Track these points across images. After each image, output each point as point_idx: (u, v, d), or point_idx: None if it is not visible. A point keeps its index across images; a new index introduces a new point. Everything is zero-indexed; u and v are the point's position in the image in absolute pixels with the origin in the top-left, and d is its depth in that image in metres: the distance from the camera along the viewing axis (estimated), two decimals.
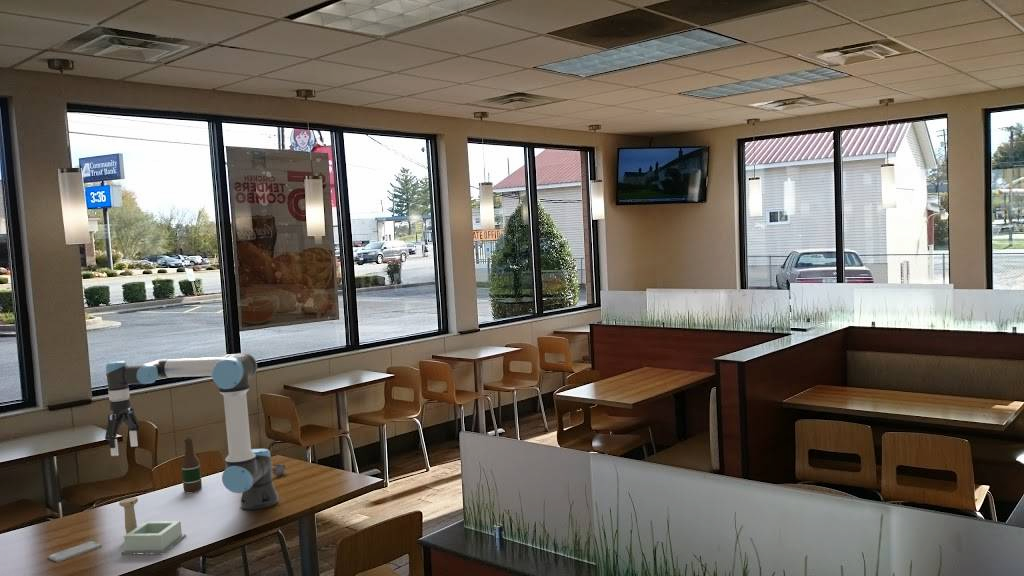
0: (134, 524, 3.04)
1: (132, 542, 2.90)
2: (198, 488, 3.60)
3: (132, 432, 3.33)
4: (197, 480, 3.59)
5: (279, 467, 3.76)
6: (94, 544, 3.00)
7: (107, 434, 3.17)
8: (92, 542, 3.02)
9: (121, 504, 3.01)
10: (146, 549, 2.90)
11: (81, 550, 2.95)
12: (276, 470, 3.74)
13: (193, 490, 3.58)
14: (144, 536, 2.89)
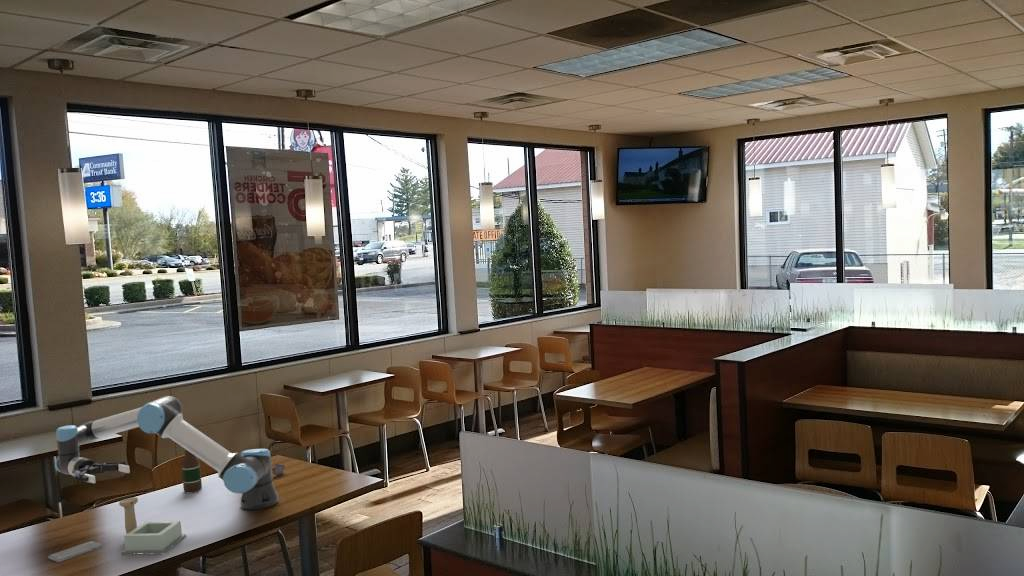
0: (134, 524, 3.04)
1: (132, 542, 2.90)
2: (198, 488, 3.60)
3: (119, 467, 3.17)
4: (197, 480, 3.59)
5: (278, 467, 3.76)
6: (94, 544, 3.00)
7: (74, 479, 3.06)
8: (92, 542, 3.02)
9: (121, 504, 3.01)
10: (146, 549, 2.90)
11: (81, 550, 2.95)
12: (275, 470, 3.75)
13: (193, 490, 3.58)
14: (144, 536, 2.89)
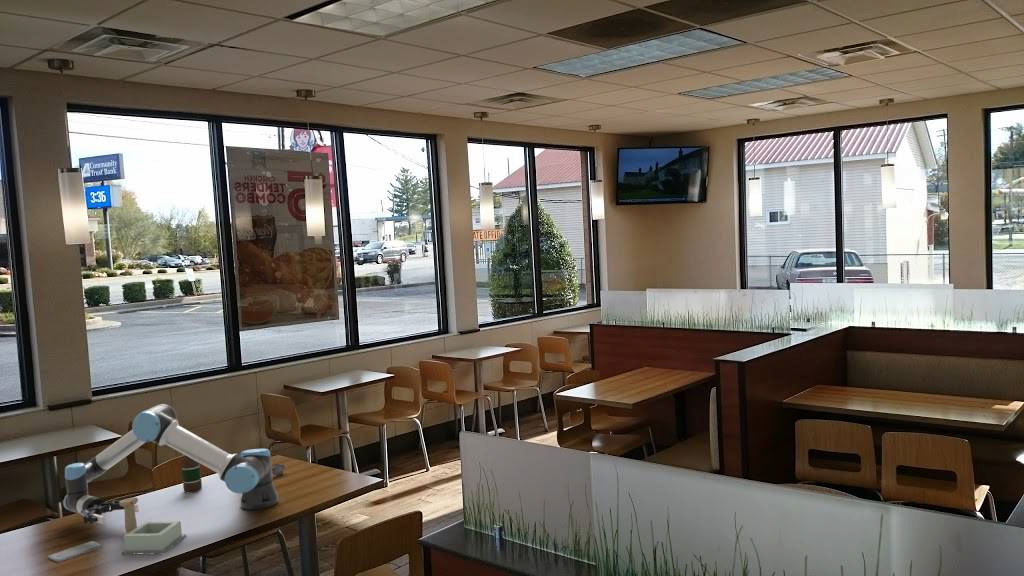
0: (134, 524, 3.04)
1: (132, 542, 2.90)
2: (198, 488, 3.60)
3: None
4: (197, 480, 3.59)
5: (278, 467, 3.76)
6: (95, 544, 3.00)
7: (83, 520, 3.05)
8: (93, 542, 3.02)
9: (121, 504, 3.01)
10: (146, 549, 2.90)
11: (82, 550, 2.95)
12: (275, 470, 3.75)
13: (193, 490, 3.58)
14: (144, 536, 2.89)
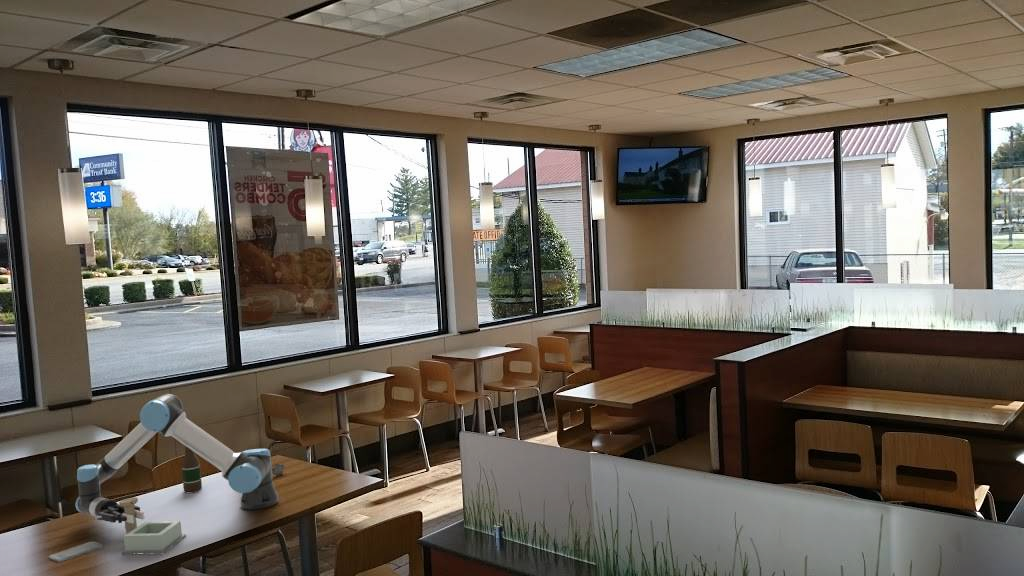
0: (134, 524, 3.04)
1: (132, 542, 2.90)
2: (198, 488, 3.60)
3: None
4: (197, 480, 3.59)
5: (278, 467, 3.76)
6: (95, 544, 3.00)
7: (110, 520, 3.02)
8: (93, 542, 3.02)
9: (121, 504, 3.01)
10: (146, 549, 2.90)
11: (82, 550, 2.95)
12: (275, 470, 3.75)
13: (193, 490, 3.58)
14: (144, 536, 2.89)
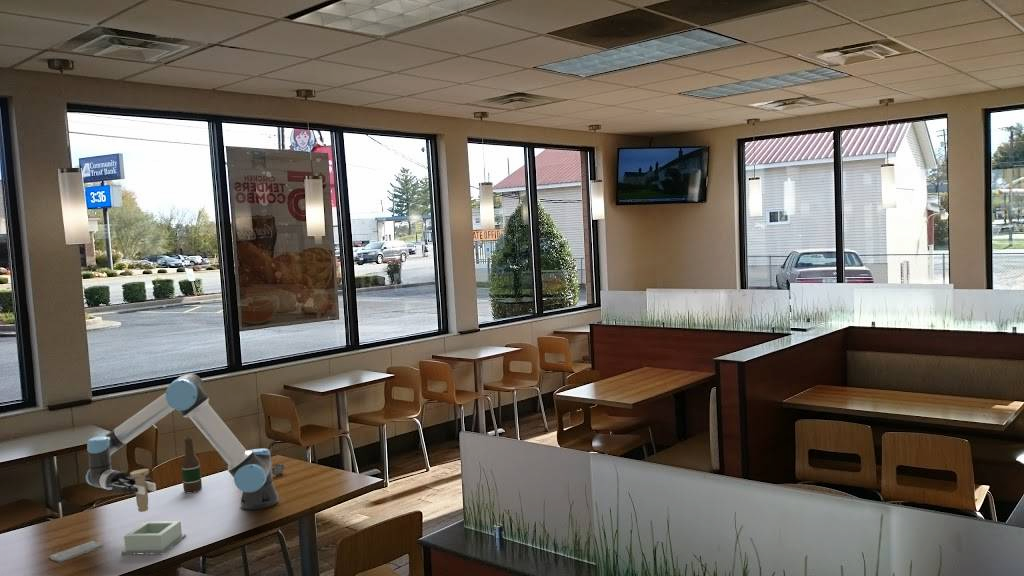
0: (145, 496, 2.97)
1: (132, 542, 2.90)
2: (198, 488, 3.60)
3: None
4: (197, 480, 3.59)
5: (278, 467, 3.76)
6: (95, 544, 2.99)
7: (121, 491, 2.95)
8: (93, 542, 3.02)
9: (132, 475, 2.94)
10: (146, 549, 2.90)
11: (83, 550, 2.95)
12: (275, 470, 3.75)
13: (193, 490, 3.58)
14: (144, 536, 2.89)
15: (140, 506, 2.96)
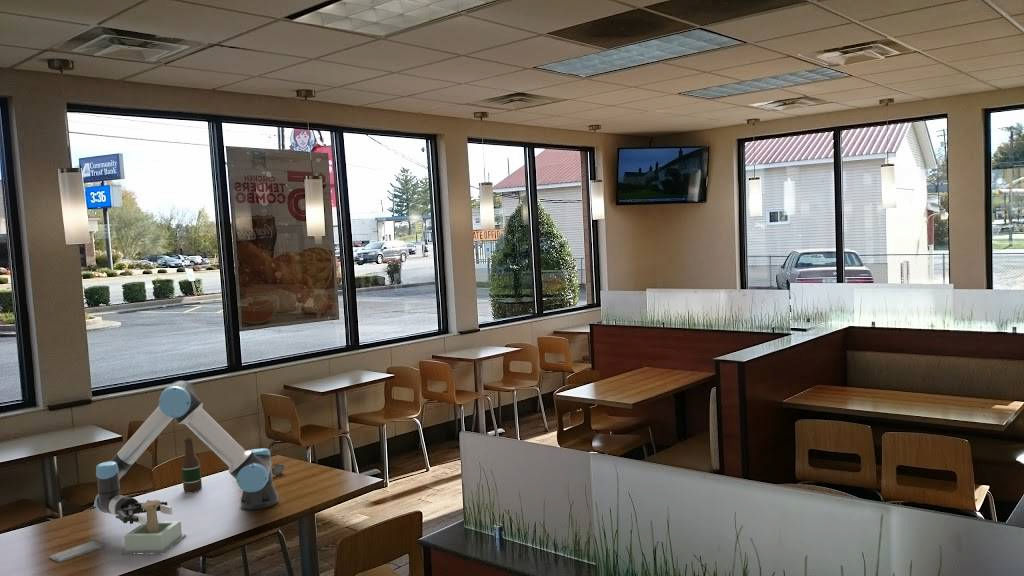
0: (156, 528, 2.96)
1: (132, 542, 2.90)
2: (198, 488, 3.60)
3: (161, 508, 3.01)
4: (197, 480, 3.59)
5: (278, 467, 3.76)
6: (96, 544, 2.99)
7: (122, 520, 2.92)
8: (94, 542, 3.02)
9: (143, 507, 2.93)
10: (146, 549, 2.90)
11: (83, 550, 2.95)
12: (275, 470, 3.75)
13: (193, 490, 3.58)
14: (144, 536, 2.89)
15: None
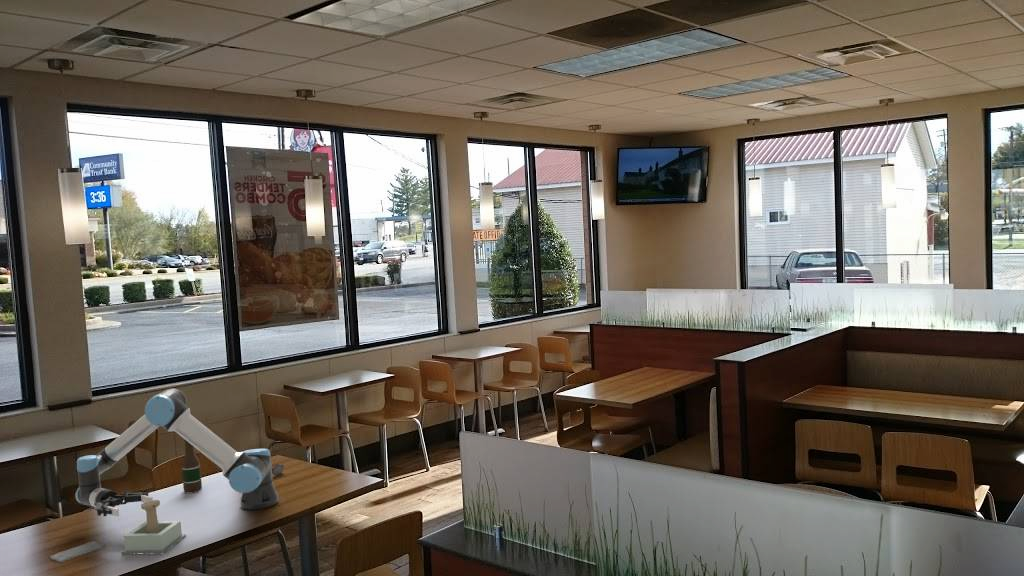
0: (156, 528, 2.96)
1: (132, 542, 2.90)
2: (198, 488, 3.60)
3: (142, 498, 3.10)
4: (197, 480, 3.59)
5: (277, 467, 3.76)
6: (96, 544, 2.99)
7: None
8: (94, 542, 3.02)
9: (143, 507, 2.93)
10: (146, 549, 2.90)
11: (84, 550, 2.95)
12: (274, 470, 3.75)
13: (193, 490, 3.58)
14: (144, 536, 2.89)
15: None
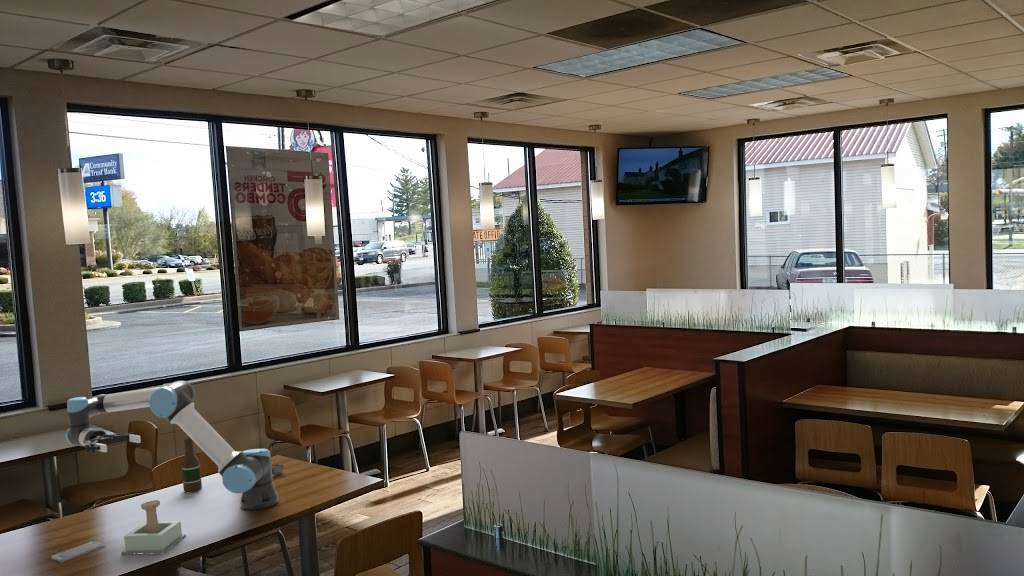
0: (156, 528, 2.96)
1: (132, 542, 2.90)
2: (198, 488, 3.60)
3: (130, 438, 3.18)
4: (197, 480, 3.59)
5: (277, 467, 3.76)
6: (97, 544, 2.99)
7: None
8: (95, 542, 3.02)
9: (143, 507, 2.93)
10: (146, 549, 2.90)
11: (84, 550, 2.95)
12: (274, 470, 3.75)
13: (193, 490, 3.58)
14: (144, 536, 2.89)
15: None
